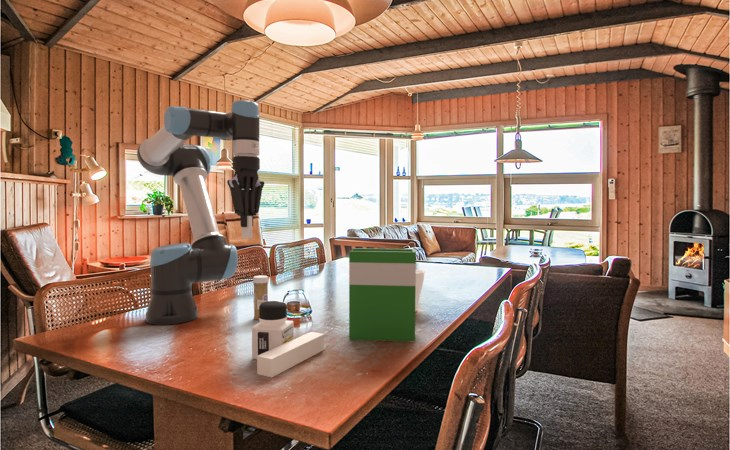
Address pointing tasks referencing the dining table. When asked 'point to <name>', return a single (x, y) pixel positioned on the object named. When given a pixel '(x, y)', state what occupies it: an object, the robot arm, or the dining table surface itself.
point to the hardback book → (382, 294)
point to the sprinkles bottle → (260, 293)
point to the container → (271, 328)
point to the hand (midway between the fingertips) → (247, 238)
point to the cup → (418, 286)
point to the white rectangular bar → (289, 354)
